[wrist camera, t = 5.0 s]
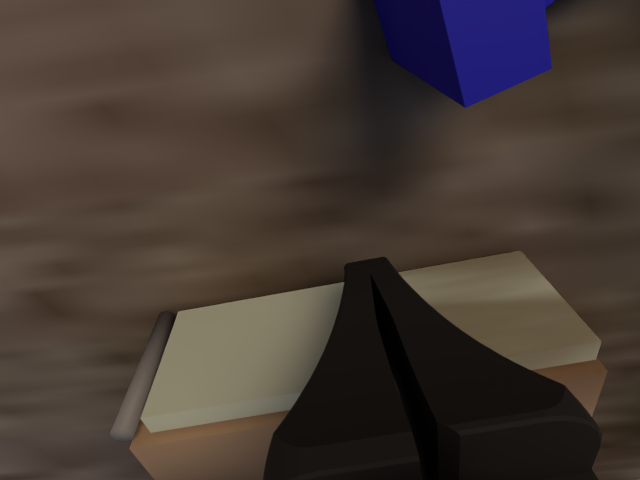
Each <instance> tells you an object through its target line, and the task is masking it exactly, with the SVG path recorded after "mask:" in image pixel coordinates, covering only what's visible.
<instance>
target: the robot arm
mask: <svg viewBox="0 0 640 480" xmlns="http://www.w3.org/2000/svg"><path fill="white" fill-rule="evenodd" d="M344 270H345V277H344V286H343V292H342V297H341V301H340V306H339V310H338V313H337V316H336V319H335V323H334V326H333V329H332V332H331V334H330V337H329V340H328V342H327V344H326V347H325V349H324V352H323V354H322V356H321V358H320V360H319V362H318V364H317V366H316V368H315V370H314V372H313V374H312V376H311V378H310V379H309V381H308V383H307V384H306V386H305V388H304V389H303V391H302V392H301V394H300V396H299V397H298V399H297V401H296V402H295V404H294V405H293V407H292V408H291V410H290V411H289V412H288V414H287V415H286V416H285V418H284V419H283V420H282V422H281V423H280V425H279V426H278V427H277V429H276V430H275V431H274V433H273V436H272V439H271V443H270V446H269V450H268V454H267V458H266V463H265V469H264V475H263V480H598V478H597V477H596V475H595V474H594V472H593V470H592V466H593V463H594V461H595V458H596V456H597V453H598V451H599V448H600V445H601V440H602V433H601V431H600V429H599V427H598V425H597V424H596V422H595V421H594V420H593V418H592V417H591V415H590V414H589V413H588V411H587V410H586V409H585V408H584V406H583V405H582V404H581V403H580V402H579V401H578V399H577V398H576V397H575V396H574V395H573V394H572V393H571V392H570V390H569V389H568V388H567V387H566V386H565V385H563V384H561V383H559V382H556V381H554V380H552V379H550V378H547V377H545V376H543V375H541V374H538V373H536V372H534V371H532V370H529V369H527V368H525V367H523V366H521V365H519V364H517V363H515V362H513V361H511V360H509V359H508V358H506V357H504V356H502V355H500V354H498V353H497V352H495V351H493V350H492V349H490V348H488V347H487V346H485V345H483V344H482V343H480V342H478V341H477V340H475V339H474V338H472V337H471V336H469V335H468V334H466V333H465V332H463V331H462V330H461V329H459V328H458V327H457V326H455V325H454V324H452V323H451V322H450V321H449V320H447V319H446V318H445V317H443V316H442V315H441V314H440V313H439V312H437V311H436V310H435V309H434V308H433V307H432V306H431V305H429V304H428V303H427V302H426V301H425V300H424V299H423V298H422V297H421V296H420V295H419V294H418V293H417V292H416V291H415V290H414V289H413V288H412V287H411V286H410V285H409V284H408V283H407V282H406V281H405V280H404V279H403V278H402V276H401V275H400V274H399V273H398V272H397V271H396V269H395V268H394V267H393V266H392V264H391V263H390V262H389V260H388V259H387V258H385V257H380V258H374V259H369V260H363V261H358V262H352V263H347V264H346V265H345V267H344ZM395 383H396V384H395ZM396 386H397V387H396ZM397 389H398V390H397ZM398 391H399V393H398ZM399 394H400V396H399ZM400 398H401V399H400Z"/></svg>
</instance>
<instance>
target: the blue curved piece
mask: <svg viewBox="0 0 640 480" xmlns="http://www.w3.org/2000/svg"><path fill="white" fill-rule="evenodd" d="M554 1H555V0H373V2H374V5H375V8H376V11H377V14H378V17H379V20H380V23H381V27H382V30H383V33H384V36H385V39H386V42H387V45H388V48H389V51H390V55H391V58H392V60H393V61H394V62H396V63H397V64H399V65H400V66H402V67H404V68H405V69H407V70H408V71H410V72H411V73H413V74H414V75H416V76H417V77H419V78H420V79H422V80H424V81H425V82H427V83H428V84H430V85H431V86H433V87H434V88H436V89H437V90H439V91H440V92H442V93H444V94H445V95H447V96H448V97H450V98H451V99H453V100H454V101H456V102H457V103H459V104H460V105H462V106H464V107H468V106H470V105H472V104H474V103H477V102H479V101H481V100H483V99H485V98H488V97H490V96H492V95H494V94H496V93H499V92H501V91H503V90H505V89H508V88H510V87H512V86H514V85H516V84H519V83H521V82H523V81H525V80H527V79H530V78H532V77H534V76H536V75H539V74H541V73H543V72H545V71H547V70H550V69H552V66H551V57H550V48H549V39H548V30H547V20H546V11H545V8H546V7H547V6H548V5H550V4H551V3H552V2H554Z"/></svg>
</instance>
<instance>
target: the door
mask: <svg viewBox="0 0 640 480" xmlns="http://www.w3.org/2000/svg"><path fill="white" fill-rule="evenodd" d="M343 286H344V282H342V283H336V284H330V285H325V286H319V287H313V288H308V289H302V290H297V291H291V292H285V293H280V294H274V295H268V296H263V297H257V298H252V299H246V300H240V301H235V302H229V303H223V304H218V305H212V306H207V307H201V308H195V309H190V310H184V311H178V314H177V317H176V318H175V316H174V315H173V314H172V313H170V312H162V313H160V314H159V316H158V319H157V321H156V323H155V326H154V328H153V331H152V333H151V336H150V338H149V340H148V343H147V345H146V348H145V350H144V353H143V355H142V357H141V360H140V362H139V365H138V367H137V370H136V372H135V374H134V377H133V379H132V382H131V384H130V386H129V389H128V391H127V394H126V396H125V399H124V401H123V403H122V406H121V408H120V411H119V413H118V416H117V418H116V420H115V423H114V425H113V428H112V430H111V433H110V436H111V438H113V439H114V440H116V441H120V442H127V441H131V440H132V439H133V438H134V435H135V432H136V429H137V427H138V424H139V421H140V419H141V420H142V422H143V423H144V424H145V426H146V427H147V428H148V430H149V431H150V432H151V433H153V432H160V431H166V430H172V429H178V428H184V427H190V426H196V425H202V424H208V423H214V422H220V421H226V420H233V419H239V418H245V417H251V416H257V415H263V414H269V413H275V412H281V411H287V410H291V408H292V407H293V405H294V404H295V402H296V401H297V399H298V397H299V396H300V394H301V392H302V391H303V389H304V388H305V386H306V384H307V383H308V381H309V379H310V378H311V376H312V374H313V372H314V370H315V368H316V366H317V364H318V362H319V360H320V358H321V356H322V354H323V352H324V349H325V347H326V344H327V342H328V340H329V337H330V334H331V332H332V329H333V326H334V323H335V319H336V316H337V313H338V310H339V306H340V301H341V297H342V292H343Z"/></svg>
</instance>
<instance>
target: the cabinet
mask: <svg viewBox="0 0 640 480" xmlns="http://www.w3.org/2000/svg"><path fill="white" fill-rule="evenodd" d="M398 273H399V274H400V275H401V276H402V278H403V279H404V280H405V281H406V282H407V283H408V284H409V285H410V286H411V287H412V288H413V289H414V290H415V291H416V292H417V293H418V294H419V295H420V296H421V297H422V298H423V299H424V300H425V301H426V302H427V303H428V304H429V305H431V306H432V307H433V308H434V309H435V310H436V311H437V312H439V313H440V314H441V315H442V316H443V317H445V318H446V319H447V320H449V321H450V322H451V323H452V324H454V325H455V326H457V327H458V328H459V329H461V330H462V331H463V332H465V333H466V334H468V335H469V336H471V337H472V338H474V339H475V340H477V341H478V342H480V343H482V344H483V345H485V346H487V347H488V348H490V349H492V350H493V351H495V352H497V353H498V354H500V355H502V356H504V357H506V358H508V359H509V360H511V361H513V362H515V363H517V364H519V365H521V366H523V367H525V368H527V369H529V370H532V371H534V372H536V373H538V374H541V375H543V376H545V377H547V378H550V379H552V380H554V381H556V382H559V383H561V384H563V385H565V386H566V387H567V388H568V389H569V390H570V392H571V393H572V394H573V395H574V396H575V397H576V398H577V399H578V401H579V402H580V403H581V404H582V405H583V406H584V408H585V409H586V410H587V411H588V413H589V414H590V415H591V417H592V415H593V412H594V409H595V406H596V403H597V400H598V397H599V395H600V392H601V389H602V386H603V383H604V380H605V377H606V375H607V372H608V370H607V369H606V368H605V367H604V366H603V365H602V363H601V362H600V361H599V360H598V359H597V355H598V351H599V348H600V345H601V341H600V339H599V338H598V337H597V336H596V335H595V334H594V333H593V332H592V330H591V329H590V328H589V327H588V326H587V325H586V324H585V323H584V321H583V320H582V319H581V318H580V317H579V316H578V315H577V314H576V312H575V311H574V310H573V309H572V308H571V307H570V306H569V305H568V303H567V302H566V301H565V300H564V299H563V298H562V297H561V296H560V294H559V293H558V292H557V291H556V290H555V289H554V288H553V287H552V285H551V284H550V283H549V282H548V281H547V280H546V279H545V278H544V277H543V275H542V274H541V273H540V272H539V271H538V270H537V269H536V268H535V266H534V265H533V264H532V263H531V262H530V261H529V260H528V259H527V257H526V256H525V255H524V254H523V253H522V252H521V251H515V252H510V253H504V254H499V255H493V256H487V257H482V258H476V259H470V260H465V261H459V262H454V263H448V264H442V265H437V266H431V267H425V268H420V269H414V270H409V271H403V272H398ZM395 384H396V383H395ZM396 387H397V386H396ZM397 390H398V389H397ZM398 393H399V391H398ZM399 396H400V394H399ZM400 399H401V398H400ZM289 411H290V410H287V411H281V412H275V413H269V414H263V415H257V416H251V417H245V418H239V419H233V420H226V421H220V422H214V423H208V424H202V425H196V426H190V427H184V428H178V429H172V430H166V431H160V432H153V433H151V432H150V431H149V430H148V428H147V427H146V426H145V424H144V423H143V422H142V420H141V419H140V421H139V424H138V427H137V429H136V432H135V435H134V438H133V440H132V443H131V446H130V448H129V449H130V450H131V452H132V453H133V454H134V455H135V456H136V458H137V459H138V460H139V461H140V463H141V464H142V465H143V466H144V467H145V469H146V470H147V471H148V472H149V474H150V475H151V476H152V477H153V478H154V480H263V475H264V469H265V463H266V458H267V454H268V450H269V446H270V443H271V439H272V436H273V433H274V431H275V430H276V429H277V427H278V426H279V425H280V423H281V422H282V420H283V419H284V418H285V416H286V415H287V414H288V412H289Z"/></svg>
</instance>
